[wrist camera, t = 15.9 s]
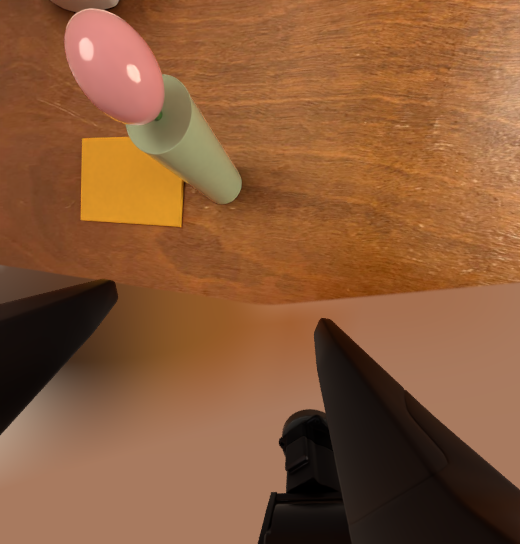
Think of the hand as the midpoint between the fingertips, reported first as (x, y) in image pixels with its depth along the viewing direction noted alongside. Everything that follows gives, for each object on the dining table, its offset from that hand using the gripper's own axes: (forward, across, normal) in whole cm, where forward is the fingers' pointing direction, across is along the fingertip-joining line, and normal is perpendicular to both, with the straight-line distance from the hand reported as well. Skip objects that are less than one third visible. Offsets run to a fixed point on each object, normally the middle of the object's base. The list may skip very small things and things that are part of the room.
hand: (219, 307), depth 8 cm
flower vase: (+16, +4, -4) cm, 17 cm away
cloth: (+18, +15, -2) cm, 24 cm away
